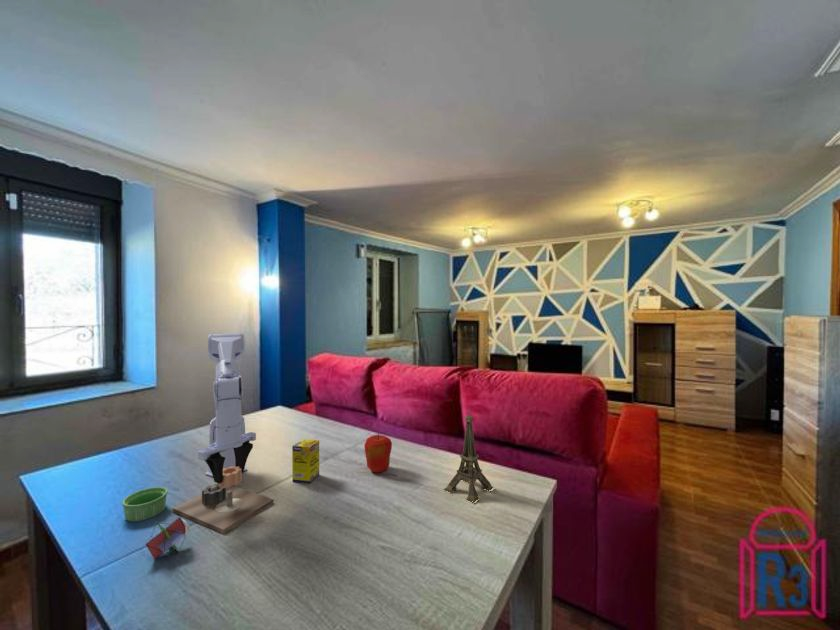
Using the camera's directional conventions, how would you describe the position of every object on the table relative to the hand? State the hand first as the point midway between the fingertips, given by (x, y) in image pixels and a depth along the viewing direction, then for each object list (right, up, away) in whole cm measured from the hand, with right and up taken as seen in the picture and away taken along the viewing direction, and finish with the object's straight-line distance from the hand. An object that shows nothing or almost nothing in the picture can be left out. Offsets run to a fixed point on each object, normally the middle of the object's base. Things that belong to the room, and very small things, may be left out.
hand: (229, 476), depth 89 cm
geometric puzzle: (-4, -9, -16) cm, 18 cm away
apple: (+36, -8, +22) cm, 43 cm away
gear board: (-2, -8, +1) cm, 9 cm away
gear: (0, -1, 0) cm, 1 cm away
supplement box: (+14, -8, +16) cm, 23 cm away
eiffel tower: (+63, -8, +9) cm, 64 cm away
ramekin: (-21, -9, -1) cm, 23 cm away
